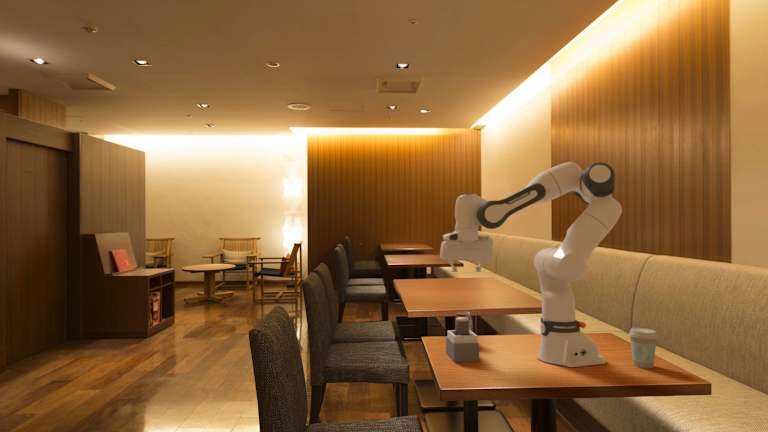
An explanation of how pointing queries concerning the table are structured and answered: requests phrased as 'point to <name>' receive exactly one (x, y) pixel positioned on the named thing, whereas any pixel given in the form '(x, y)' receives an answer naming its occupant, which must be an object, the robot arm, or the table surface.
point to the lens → (461, 326)
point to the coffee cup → (643, 346)
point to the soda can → (468, 315)
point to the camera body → (462, 347)
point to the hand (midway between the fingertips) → (466, 271)
